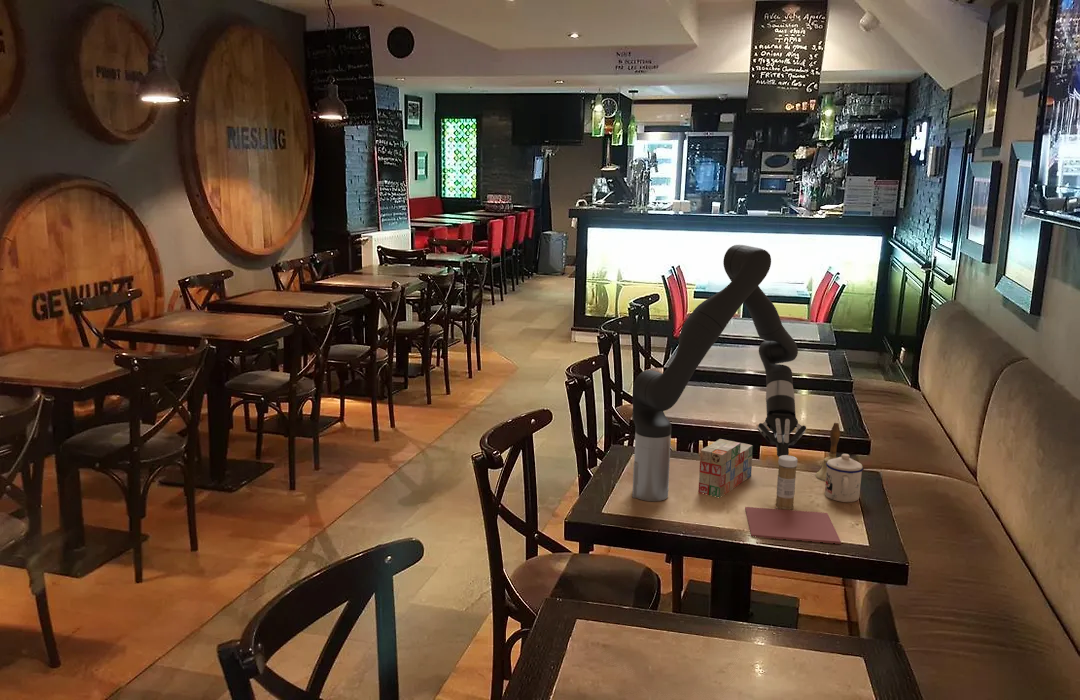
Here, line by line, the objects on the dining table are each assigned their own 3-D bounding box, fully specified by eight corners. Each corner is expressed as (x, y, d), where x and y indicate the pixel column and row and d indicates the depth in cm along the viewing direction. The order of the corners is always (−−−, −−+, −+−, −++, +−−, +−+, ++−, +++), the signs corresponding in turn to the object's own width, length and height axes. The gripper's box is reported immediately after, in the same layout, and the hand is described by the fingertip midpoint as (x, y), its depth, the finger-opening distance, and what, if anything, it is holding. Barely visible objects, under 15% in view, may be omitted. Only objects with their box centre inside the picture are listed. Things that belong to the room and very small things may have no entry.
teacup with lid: (822, 488, 219) (826, 447, 217) (858, 492, 217) (862, 451, 214) (825, 504, 208) (829, 461, 206) (862, 509, 205) (867, 465, 203)
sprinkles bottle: (792, 505, 207) (796, 455, 205) (794, 511, 203) (798, 461, 200) (774, 503, 208) (778, 453, 206) (775, 510, 204) (779, 459, 201)
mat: (751, 536, 188) (751, 534, 188) (745, 508, 204) (745, 506, 204) (840, 544, 185) (840, 541, 185) (827, 515, 201) (827, 512, 201)
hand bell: (820, 470, 234) (825, 417, 230) (849, 476, 229) (855, 422, 226) (811, 478, 227) (816, 424, 224) (841, 485, 222) (846, 429, 219)
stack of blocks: (730, 471, 232) (733, 430, 229) (751, 476, 228) (754, 434, 226) (697, 493, 215) (700, 449, 212) (719, 498, 211) (722, 454, 209)
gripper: (757, 392, 219) (758, 449, 209) (807, 395, 217) (811, 453, 207) (753, 406, 225) (755, 462, 215) (803, 408, 223) (806, 465, 213)
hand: (783, 457), depth 211 cm, fingers closed
